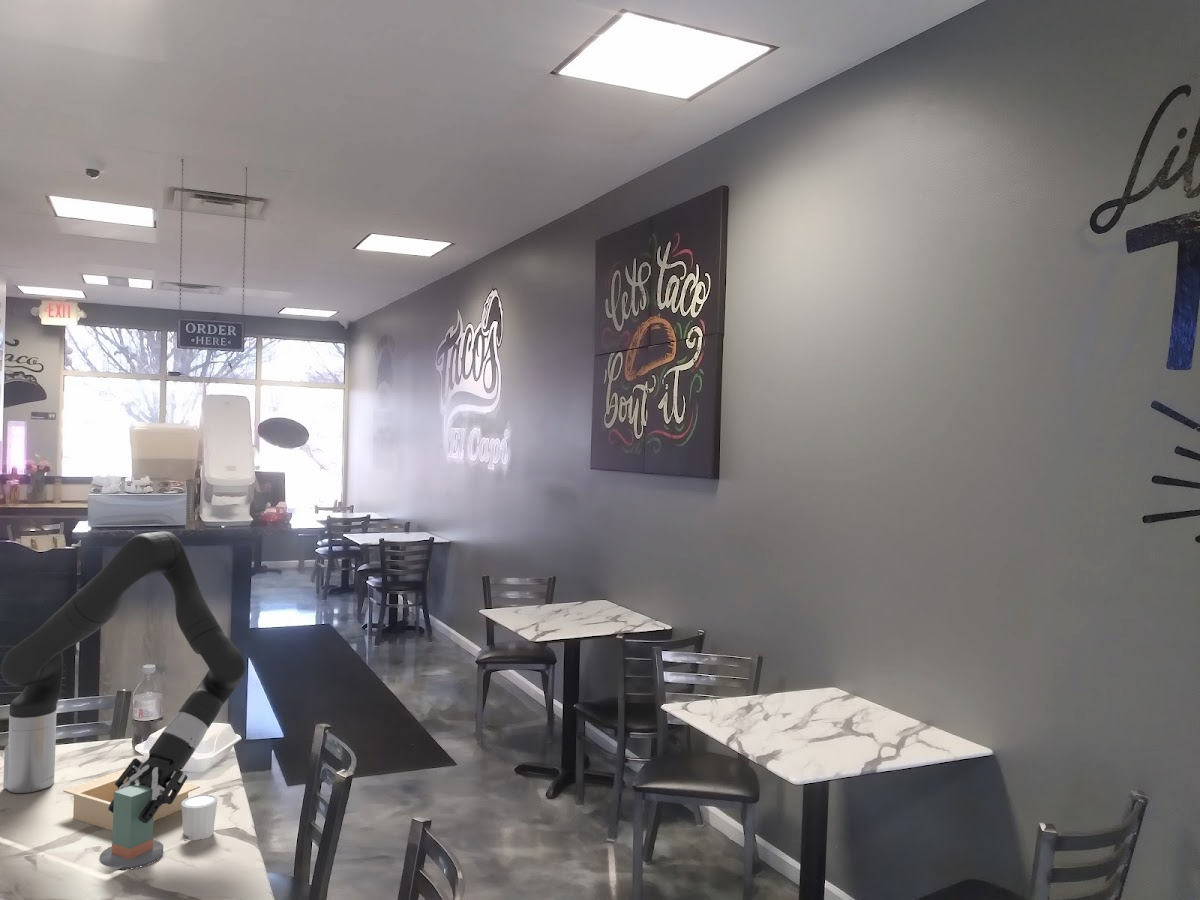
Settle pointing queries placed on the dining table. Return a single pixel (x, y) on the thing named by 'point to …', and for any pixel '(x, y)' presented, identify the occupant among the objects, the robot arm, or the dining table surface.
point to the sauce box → (131, 822)
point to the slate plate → (135, 862)
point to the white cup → (199, 816)
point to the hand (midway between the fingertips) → (126, 816)
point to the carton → (100, 793)
